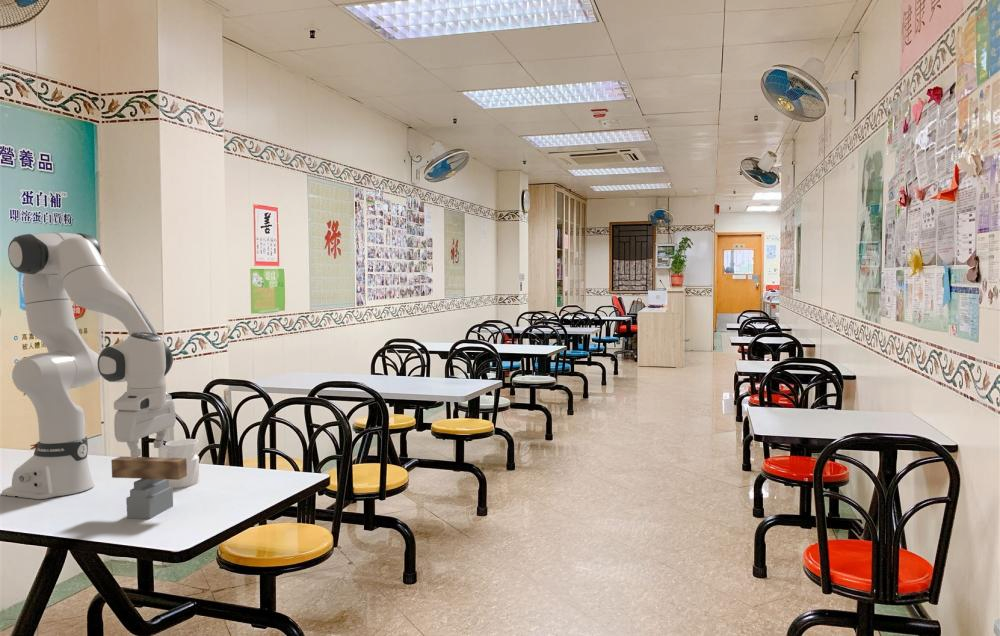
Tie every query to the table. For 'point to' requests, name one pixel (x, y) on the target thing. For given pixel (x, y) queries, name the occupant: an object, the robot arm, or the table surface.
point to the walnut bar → (149, 468)
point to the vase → (186, 450)
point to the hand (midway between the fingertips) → (147, 451)
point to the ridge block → (149, 498)
